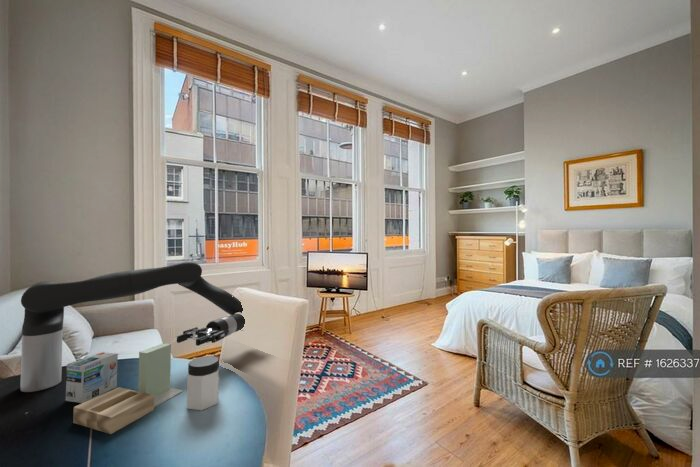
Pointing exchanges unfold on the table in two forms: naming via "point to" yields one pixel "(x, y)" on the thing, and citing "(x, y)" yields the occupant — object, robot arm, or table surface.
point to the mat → (166, 396)
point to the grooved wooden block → (113, 410)
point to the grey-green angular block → (155, 369)
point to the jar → (203, 382)
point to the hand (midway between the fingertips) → (186, 341)
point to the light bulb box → (91, 377)
